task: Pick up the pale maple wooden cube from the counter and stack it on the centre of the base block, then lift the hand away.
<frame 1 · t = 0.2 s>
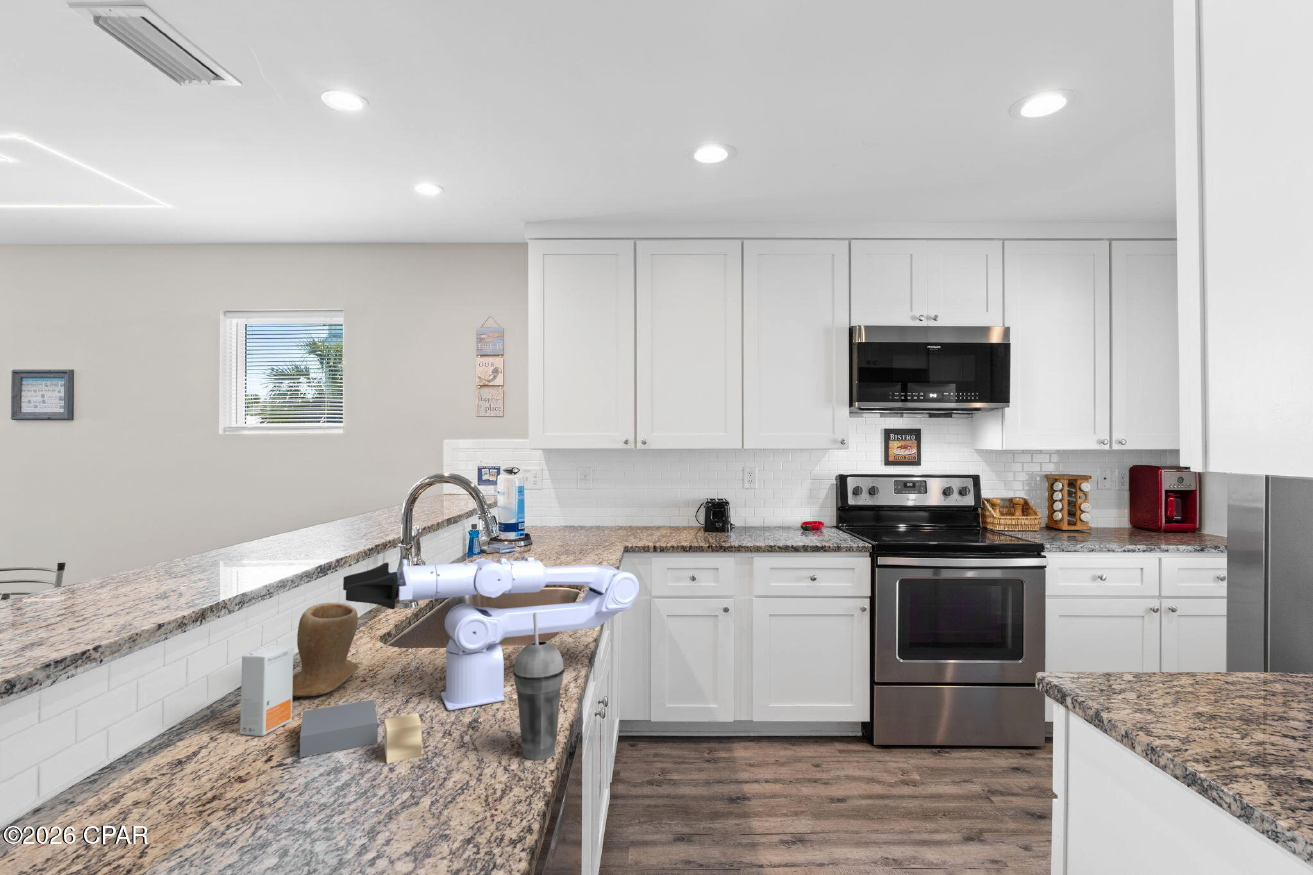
hand: (344, 588, 101), 21 cm above the countertop, tool horizontal, fingers open, 7 cm apart
base block: (339, 736, 96), on the countertop
maple cube: (402, 753, 90), on the countertop
beverage cup: (539, 754, 90), on the countertop
skincare box: (267, 729, 99), on the countertop
stone cup: (326, 687, 117), on the countertop
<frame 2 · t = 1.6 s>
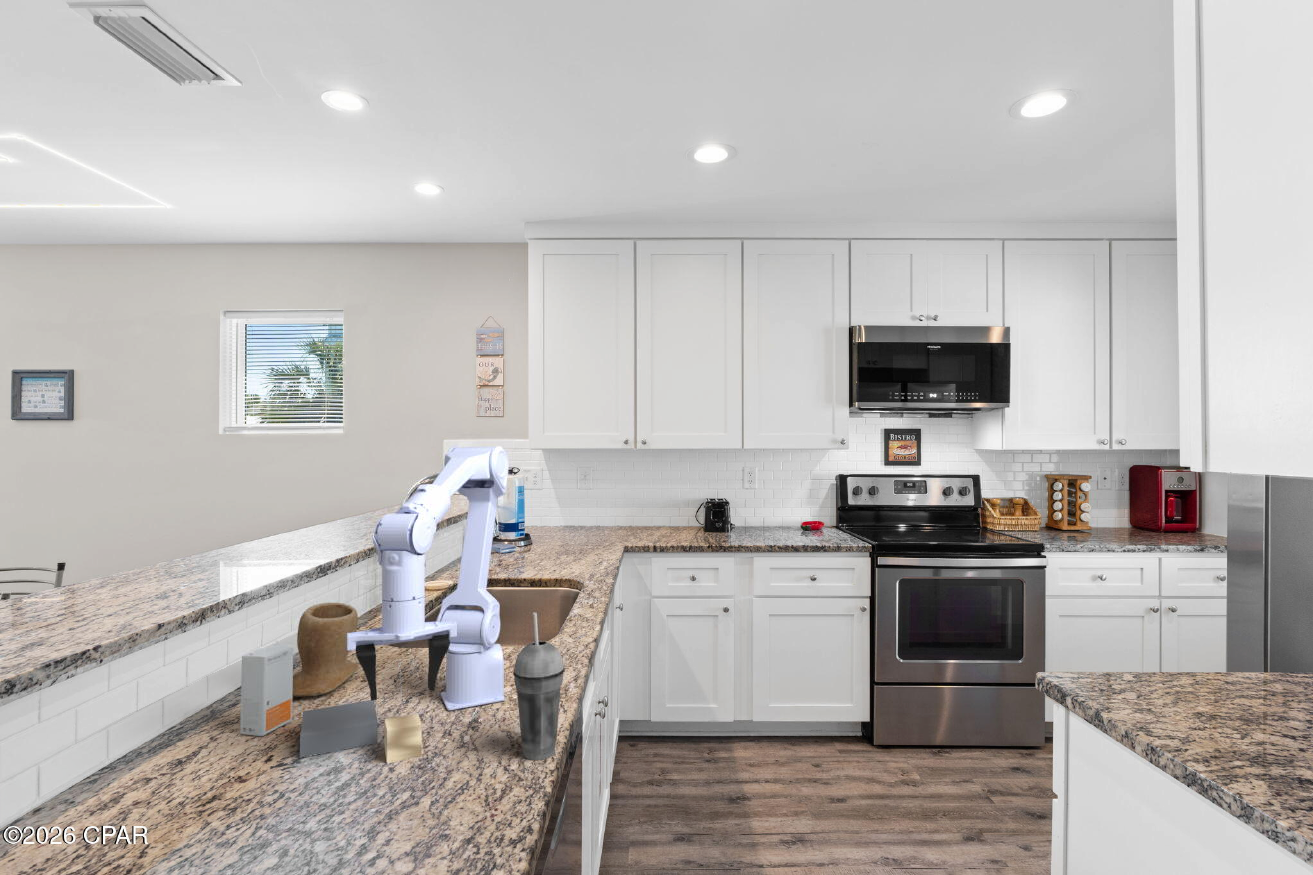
hand: (403, 693, 91), 8 cm above the countertop, tool pointing down, fingers open, 7 cm apart
nothing on the countertop moved.
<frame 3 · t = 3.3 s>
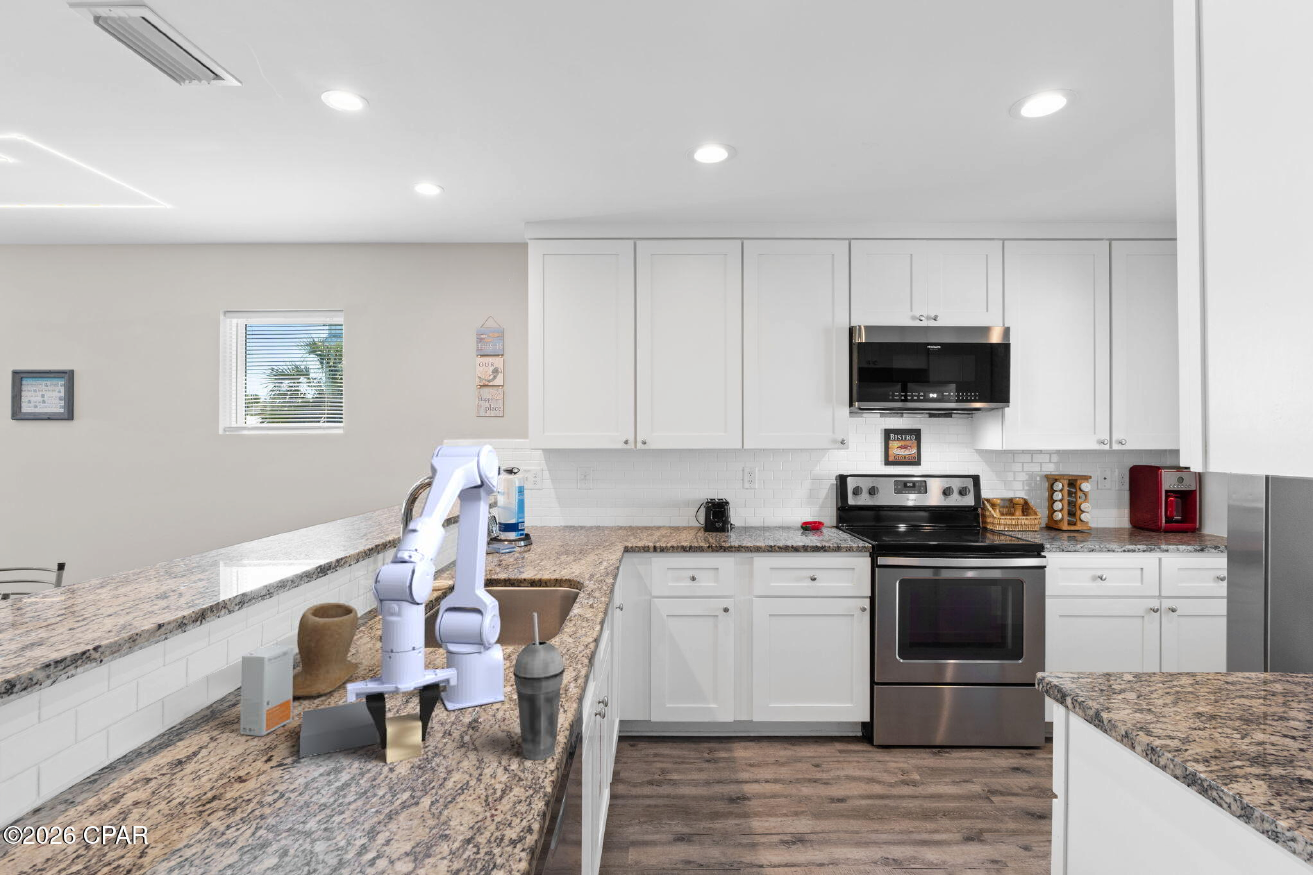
hand: (402, 742, 90), 1 cm above the countertop, tool pointing down, fingers closed on maple cube, 4 cm apart
maple cube: (402, 752, 90), on the countertop, touching gripper
everything else where it was.
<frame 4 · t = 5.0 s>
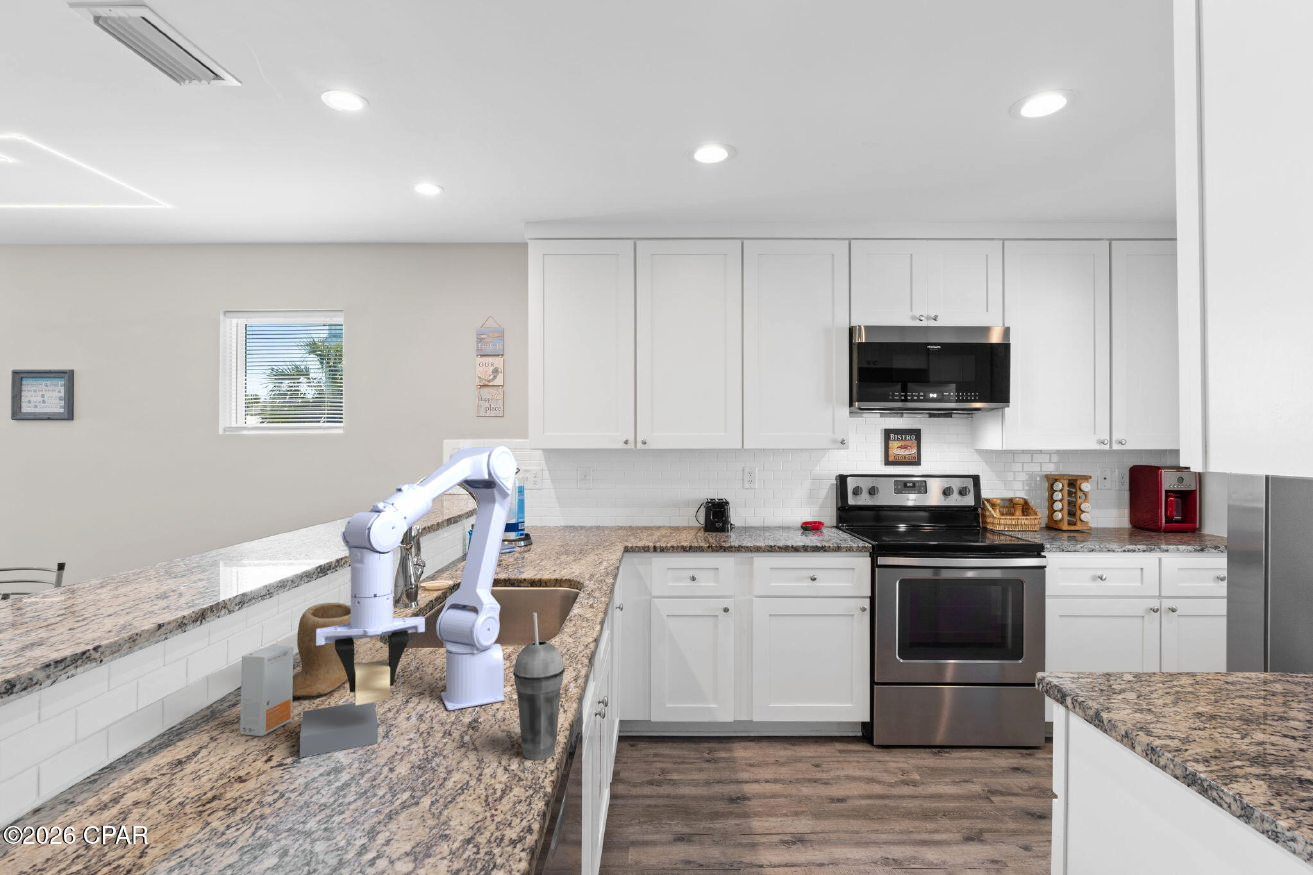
hand: (371, 686, 93), 8 cm above the countertop, tool pointing down, fingers closed on maple cube, 4 cm apart
maple cube: (371, 697, 93), point 7 cm above the countertop, touching gripper
everything else where it was.
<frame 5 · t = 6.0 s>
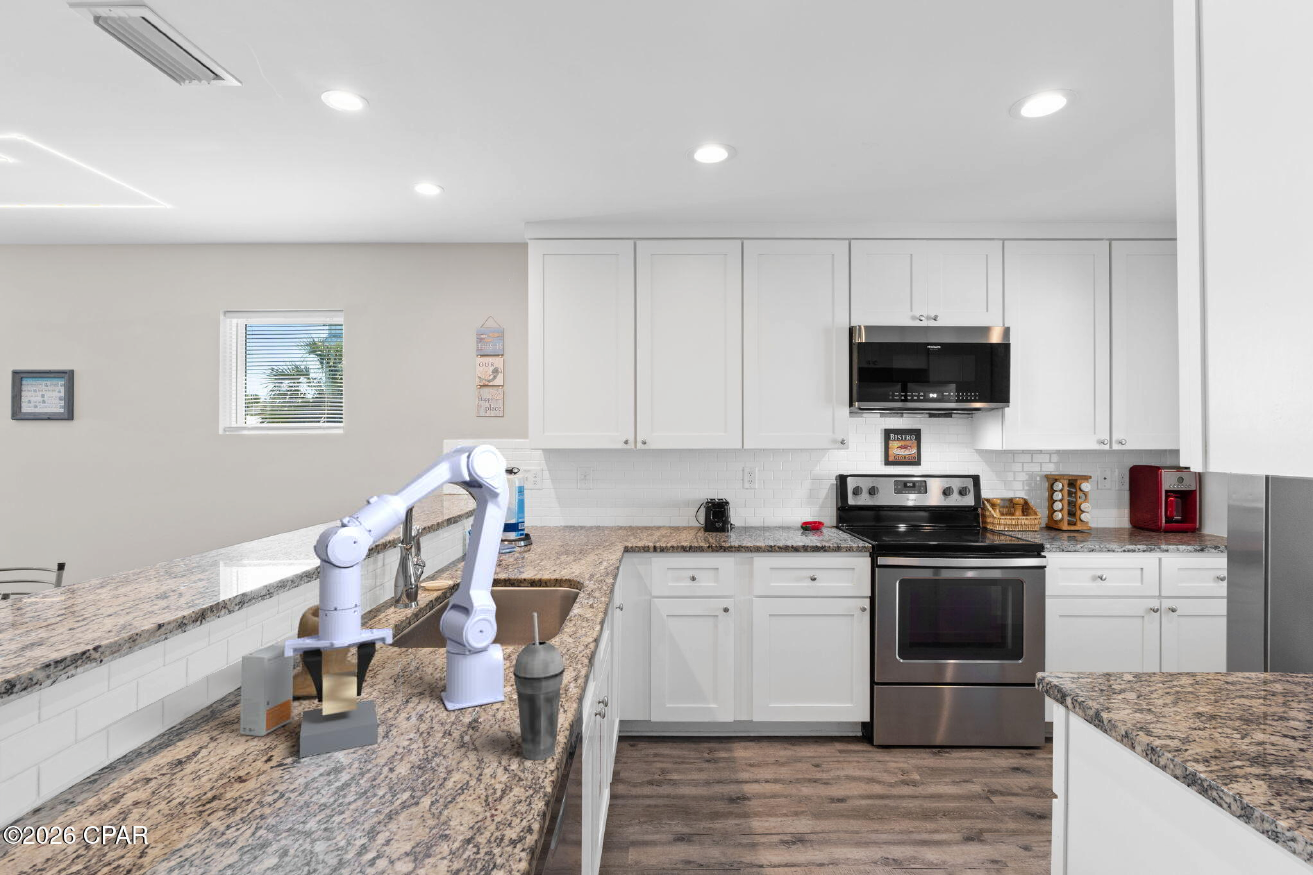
hand: (339, 696, 96), 6 cm above the countertop, tool pointing down, fingers closed on maple cube, 4 cm apart
maple cube: (339, 706, 96), point 4 cm above the countertop, touching gripper
everything else where it was.
when the fingers open (6 cm above the countertop, at t = 6.8 s): maple cube drops 1 cm, resting on base block.
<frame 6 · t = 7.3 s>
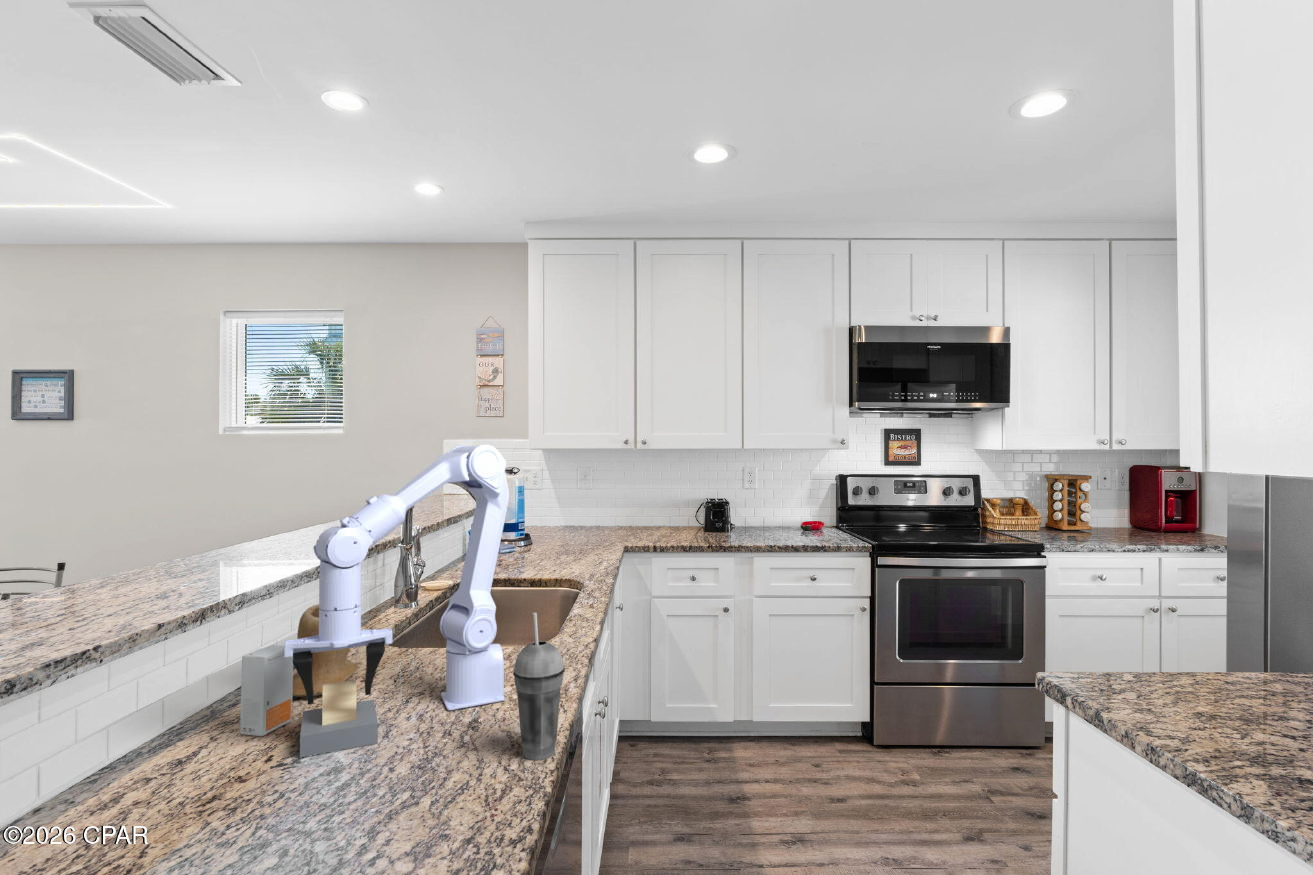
hand: (339, 697, 96), 6 cm above the countertop, tool pointing down, fingers open, 7 cm apart
maple cube: (339, 716, 96), point 3 cm above the countertop, touching base block
everything else where it was.
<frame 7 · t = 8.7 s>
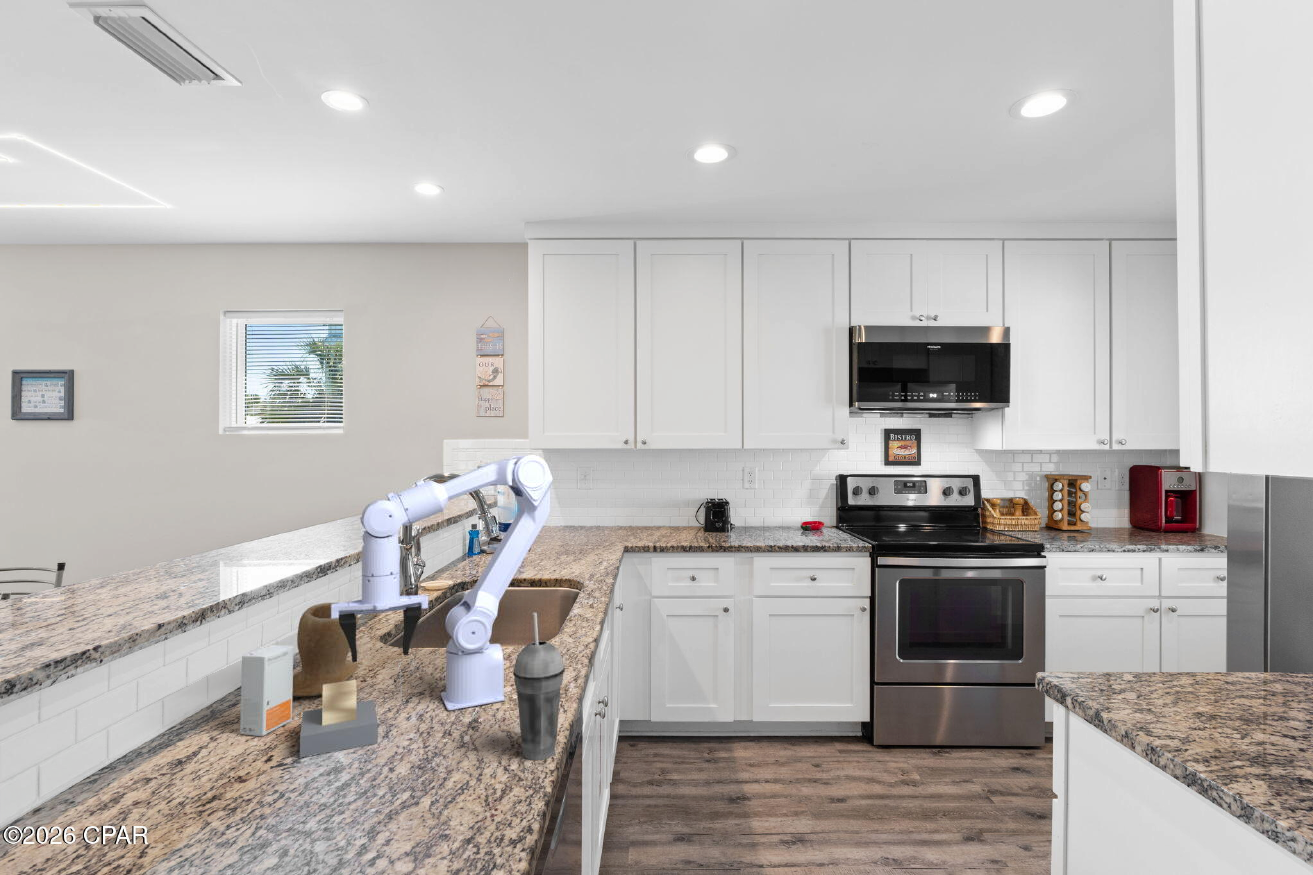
hand: (380, 656, 104), 9 cm above the countertop, tool pointing down, fingers open, 7 cm apart
nothing on the countertop moved.
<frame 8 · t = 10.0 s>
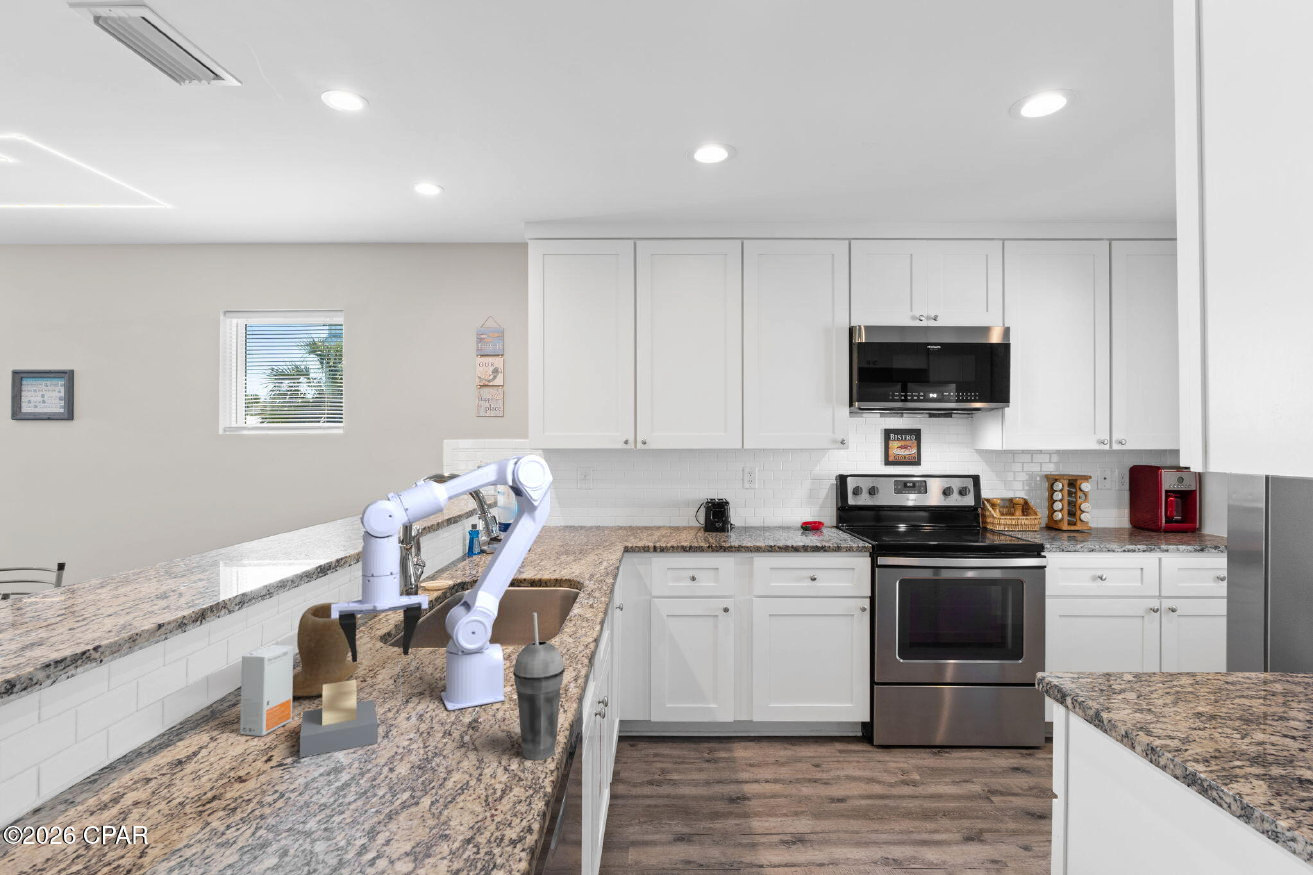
hand: (380, 656, 104), 9 cm above the countertop, tool pointing down, fingers open, 7 cm apart
nothing on the countertop moved.
at the end: maple cube 0.1 cm off-centre on the base block, point 3.0 cm above the base block's base; maple cube tilted 0°; maple cube touching base block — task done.
